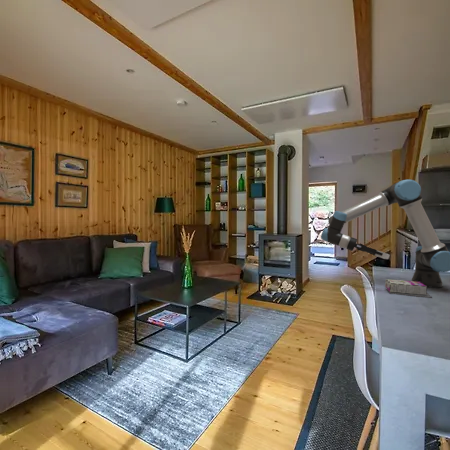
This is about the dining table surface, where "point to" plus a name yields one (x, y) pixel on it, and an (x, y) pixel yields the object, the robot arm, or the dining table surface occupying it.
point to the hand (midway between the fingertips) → (387, 257)
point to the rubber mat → (411, 294)
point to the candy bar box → (406, 287)
